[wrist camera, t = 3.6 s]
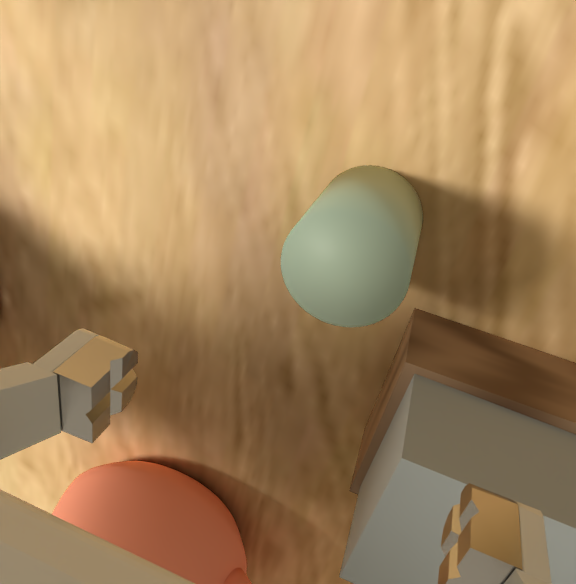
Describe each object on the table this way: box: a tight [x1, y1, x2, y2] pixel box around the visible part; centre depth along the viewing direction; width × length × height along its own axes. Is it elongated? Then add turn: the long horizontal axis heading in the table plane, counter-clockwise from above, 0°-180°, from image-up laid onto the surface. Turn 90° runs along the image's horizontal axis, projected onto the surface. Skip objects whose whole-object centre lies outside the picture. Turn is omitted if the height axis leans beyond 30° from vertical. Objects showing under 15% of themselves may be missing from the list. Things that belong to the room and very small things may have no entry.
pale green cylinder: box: [281, 165, 423, 327], centre depth 22 cm, size 5×5×6 cm
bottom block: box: [350, 308, 576, 494], centre depth 26 cm, size 9×9×5 cm
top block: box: [339, 374, 576, 584], centre depth 21 cm, size 8×8×5 cm
